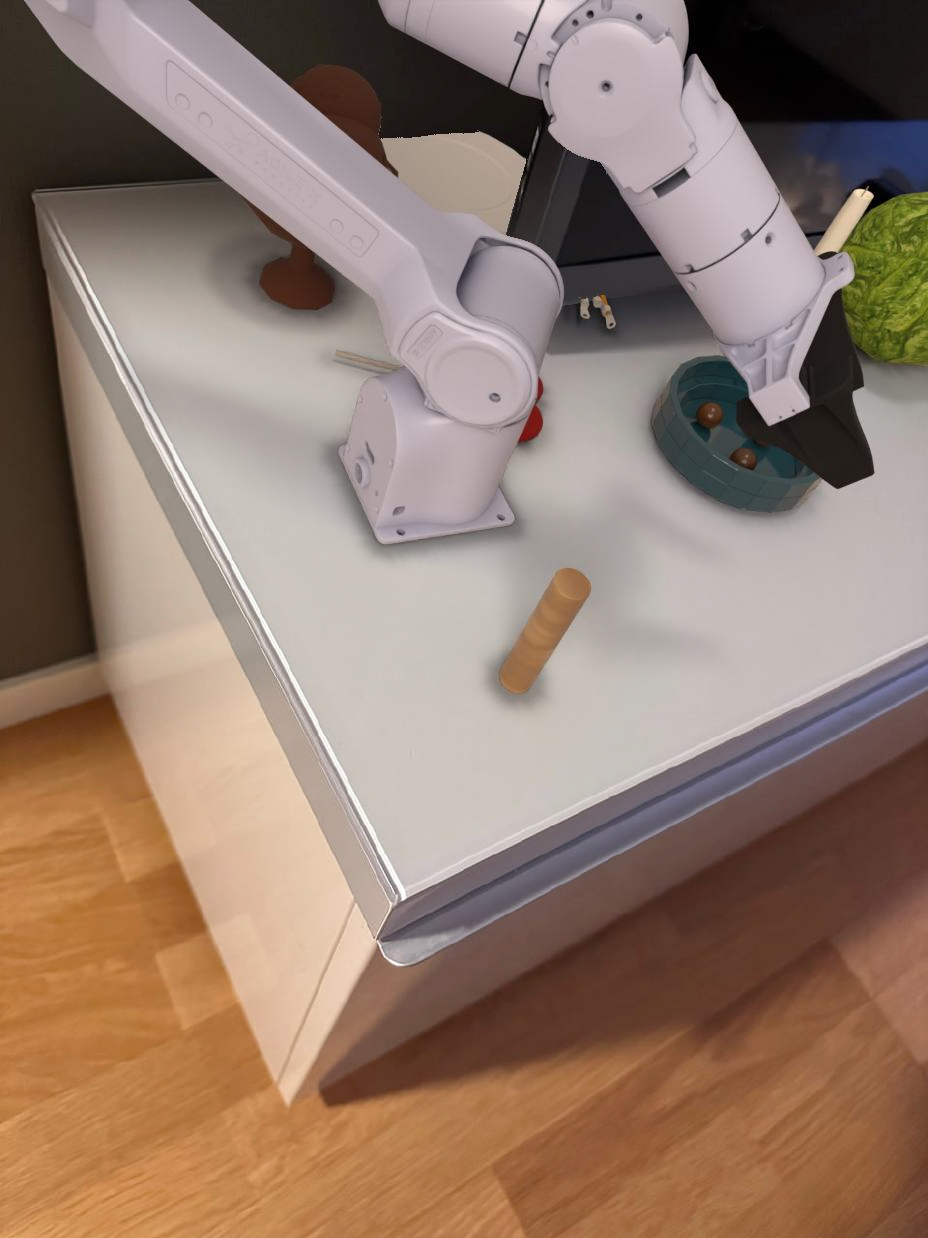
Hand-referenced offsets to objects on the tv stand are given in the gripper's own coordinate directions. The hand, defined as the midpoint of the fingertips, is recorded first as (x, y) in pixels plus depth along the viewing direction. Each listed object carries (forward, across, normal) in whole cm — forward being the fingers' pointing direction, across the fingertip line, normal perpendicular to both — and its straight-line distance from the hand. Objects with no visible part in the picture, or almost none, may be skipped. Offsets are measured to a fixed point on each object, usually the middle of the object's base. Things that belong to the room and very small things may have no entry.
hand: (850, 432), depth 51 cm
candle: (+10, +29, +11) cm, 33 cm away
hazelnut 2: (+8, +13, +11) cm, 18 cm away
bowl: (+8, +16, +12) cm, 21 cm away
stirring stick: (-2, -12, +19) cm, 23 cm away
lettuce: (+16, +47, -1) cm, 49 cm away
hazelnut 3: (+9, +17, +10) cm, 21 cm away
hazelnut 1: (+5, +16, +12) cm, 21 cm away
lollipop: (-10, +10, +24) cm, 28 cm away
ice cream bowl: (-21, +15, +31) cm, 40 cm away
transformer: (-4, +34, +16) cm, 38 cm away
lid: (-15, +34, +26) cm, 45 cm away
